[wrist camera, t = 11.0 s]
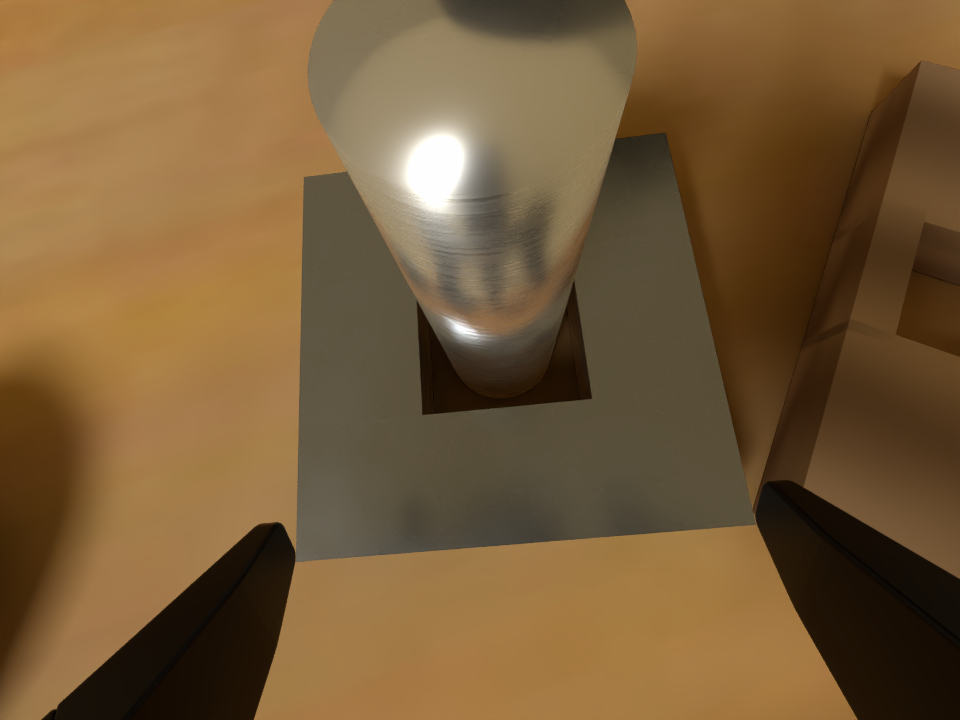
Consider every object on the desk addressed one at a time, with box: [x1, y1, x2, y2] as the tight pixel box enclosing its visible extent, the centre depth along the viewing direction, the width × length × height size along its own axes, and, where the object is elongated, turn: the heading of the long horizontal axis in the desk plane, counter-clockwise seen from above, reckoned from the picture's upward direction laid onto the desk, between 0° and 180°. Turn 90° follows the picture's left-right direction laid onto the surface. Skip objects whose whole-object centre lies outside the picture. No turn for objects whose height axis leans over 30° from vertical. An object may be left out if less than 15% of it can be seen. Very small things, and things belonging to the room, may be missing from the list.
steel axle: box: [308, 0, 637, 398], centre depth 12 cm, size 4×4×13 cm
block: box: [296, 133, 756, 562], centre depth 17 cm, size 14×14×2 cm
